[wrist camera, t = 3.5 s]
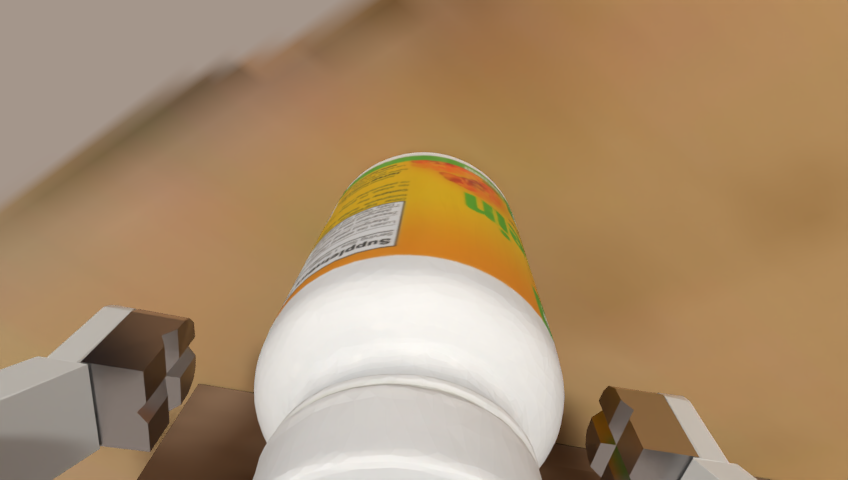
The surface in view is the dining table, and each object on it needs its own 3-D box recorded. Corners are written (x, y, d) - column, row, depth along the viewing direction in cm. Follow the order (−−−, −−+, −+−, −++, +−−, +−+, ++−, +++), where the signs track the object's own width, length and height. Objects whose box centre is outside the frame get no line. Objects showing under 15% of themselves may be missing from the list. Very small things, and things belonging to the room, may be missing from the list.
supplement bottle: (546, 265, 15) (687, 632, 6) (396, 337, 16) (342, 721, 8) (457, 110, 13) (484, 327, 4) (297, 206, 14) (72, 519, 6)
